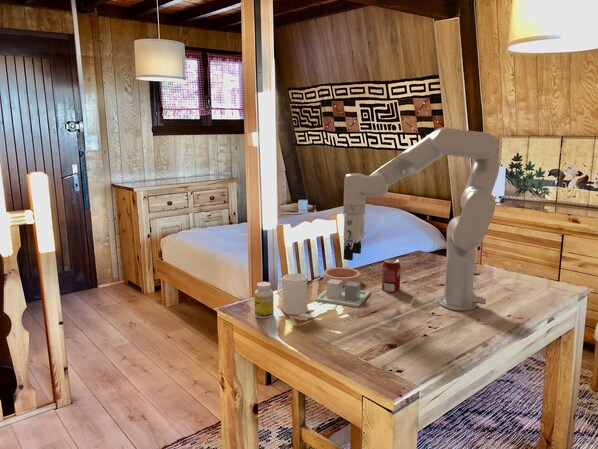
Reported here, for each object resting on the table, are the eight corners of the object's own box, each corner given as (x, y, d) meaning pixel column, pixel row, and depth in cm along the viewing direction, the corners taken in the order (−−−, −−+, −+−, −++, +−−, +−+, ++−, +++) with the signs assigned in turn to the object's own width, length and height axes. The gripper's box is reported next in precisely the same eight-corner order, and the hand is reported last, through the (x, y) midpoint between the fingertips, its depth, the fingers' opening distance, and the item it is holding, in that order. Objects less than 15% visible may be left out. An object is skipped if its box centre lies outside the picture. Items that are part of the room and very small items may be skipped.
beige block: (341, 294, 183) (342, 280, 182) (338, 298, 179) (338, 284, 178) (330, 293, 185) (330, 279, 184) (326, 296, 181) (326, 282, 180)
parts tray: (370, 294, 185) (370, 291, 184) (358, 308, 171) (358, 305, 171) (329, 289, 191) (329, 286, 191) (315, 302, 177) (315, 298, 177)
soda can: (394, 295, 184) (395, 264, 182) (378, 291, 188) (379, 261, 186) (402, 290, 190) (404, 260, 187) (386, 286, 194) (387, 257, 191)
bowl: (364, 280, 201) (364, 269, 200) (353, 291, 188) (353, 280, 187) (330, 276, 207) (330, 265, 206) (318, 286, 194) (318, 275, 193)
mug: (270, 308, 171) (270, 275, 169) (287, 301, 178) (287, 269, 175) (296, 317, 164) (296, 282, 161) (312, 309, 170) (313, 276, 168)
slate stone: (360, 297, 181) (360, 282, 180) (356, 301, 177) (357, 286, 175) (348, 295, 182) (348, 281, 181) (344, 299, 178) (344, 285, 177)
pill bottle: (253, 313, 167) (252, 281, 165) (271, 311, 169) (270, 280, 166) (256, 320, 161) (256, 287, 159) (275, 318, 163) (275, 285, 161)
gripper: (357, 214, 164) (355, 264, 167) (371, 206, 179) (369, 252, 183) (335, 212, 167) (334, 261, 170) (351, 204, 182) (349, 249, 186)
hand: (352, 256), depth 176 cm, fingers open, 9 cm apart
